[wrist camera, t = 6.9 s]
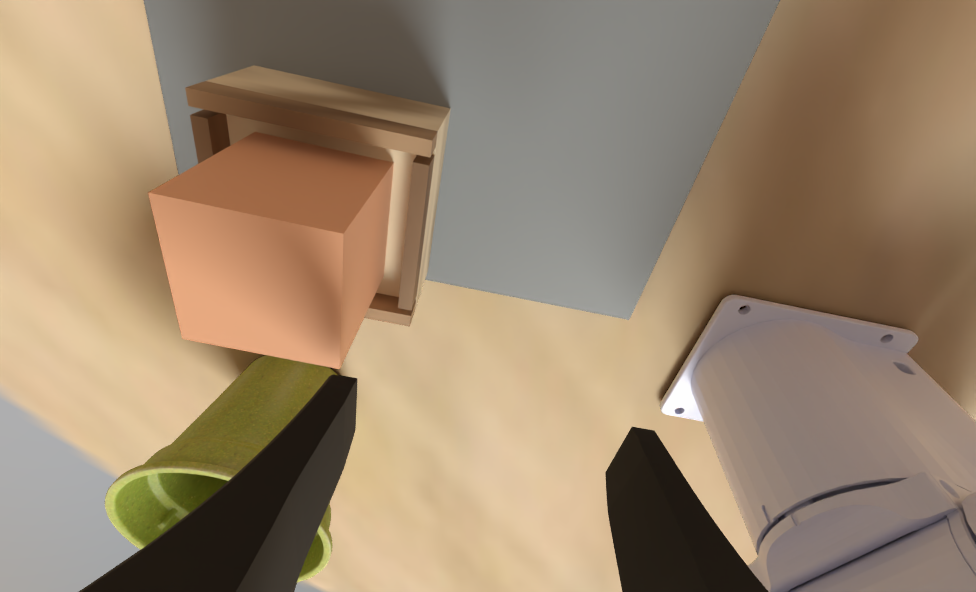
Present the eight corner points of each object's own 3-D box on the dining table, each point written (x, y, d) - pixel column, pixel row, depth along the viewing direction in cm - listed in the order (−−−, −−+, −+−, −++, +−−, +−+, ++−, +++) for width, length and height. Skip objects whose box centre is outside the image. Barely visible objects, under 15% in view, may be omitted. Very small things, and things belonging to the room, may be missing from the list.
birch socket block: (450, 108, 17) (432, 140, 13) (427, 270, 20) (409, 326, 17) (254, 65, 16) (184, 87, 13) (269, 239, 20) (220, 290, 17)
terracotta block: (393, 162, 15) (343, 233, 11) (383, 275, 17) (339, 369, 13) (254, 131, 14) (148, 192, 10) (265, 251, 17) (182, 338, 13)
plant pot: (288, 297, 23) (184, 438, 16) (412, 406, 27) (373, 558, 20) (186, 371, 27) (63, 514, 20) (309, 457, 31) (244, 602, 24)
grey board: (874, -240, 12) (901, -256, 11) (625, 307, 22) (629, 319, 21) (80, -461, 11) (43, -496, 10) (203, 223, 21) (190, 233, 20)
